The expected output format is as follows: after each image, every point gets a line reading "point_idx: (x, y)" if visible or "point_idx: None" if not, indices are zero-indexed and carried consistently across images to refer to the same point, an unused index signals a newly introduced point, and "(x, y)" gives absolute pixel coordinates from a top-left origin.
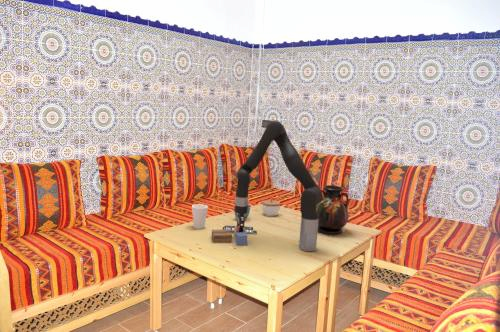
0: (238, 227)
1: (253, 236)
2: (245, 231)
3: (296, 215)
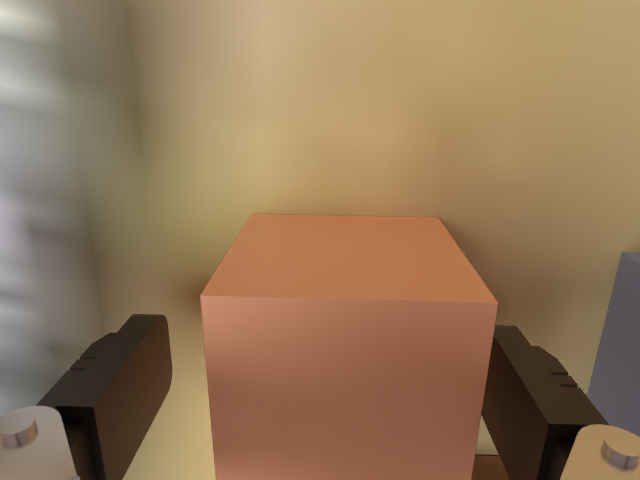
0: (329, 453)
1: (344, 12)
2: (475, 272)
3: None
